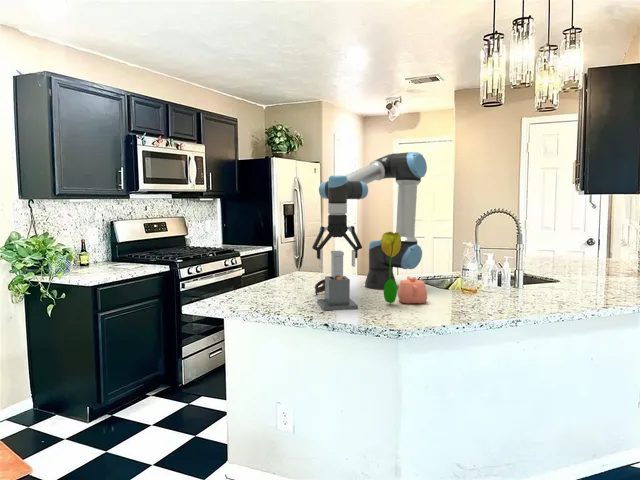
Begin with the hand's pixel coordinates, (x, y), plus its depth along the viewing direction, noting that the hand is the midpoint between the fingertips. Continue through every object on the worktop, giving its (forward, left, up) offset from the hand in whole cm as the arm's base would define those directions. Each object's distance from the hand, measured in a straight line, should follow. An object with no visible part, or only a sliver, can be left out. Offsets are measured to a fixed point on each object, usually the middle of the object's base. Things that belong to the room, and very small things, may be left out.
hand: (337, 266), depth 194 cm
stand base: (0, 0, -16) cm, 16 cm away
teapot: (-33, -2, -16) cm, 37 cm away
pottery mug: (0, -22, -16) cm, 28 cm away
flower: (-22, +2, -16) cm, 28 cm away
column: (0, 0, -14) cm, 14 cm away
